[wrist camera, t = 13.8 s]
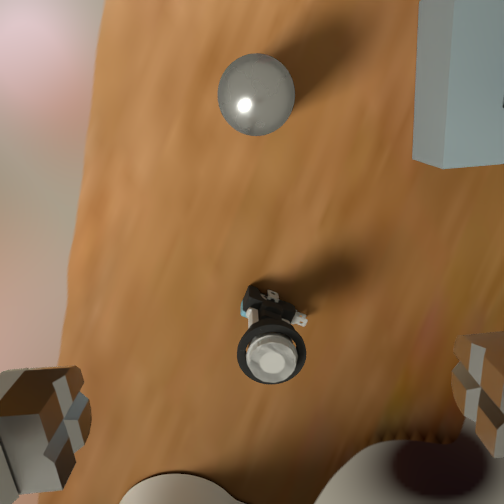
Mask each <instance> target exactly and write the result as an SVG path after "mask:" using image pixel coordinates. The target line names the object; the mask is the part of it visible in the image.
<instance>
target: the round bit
mask: <svg viewBox="0 0 504 504" xmlns="http://www.w3.org/2000/svg"><path fill="white" fill-rule="evenodd" d="M294 101H295V89H294V84H293V80H292V78H291V75H290V74H289V72H288V70H287V69H286V68H285V66H284V65H283V64H282V63H281V62H279V61H278V60H277V59H275V58H273V57H271V56H268V55H265V54H258V53H256V54H248V55H245V56H242V57H240V58H238V59H236V60H235V61H234V62H232V63H231V64H230V65H229V66H228V67H227V69H226V70H225V72H224V73H223V75H222V77H221V79H220V83H219V87H218V103H219V107H220V110H221V113H222V115H223V117H224V118H225V120H226V121H227V122H228V123H229V124H230V125H231V126H232V127H233V128H234V129H236V130H237V131H239V132H241V133H243V134H246V135H251V136H261V135H266V134H269V133H271V132H274V131H275V130H277V129H278V128H280V127H281V126H282V125H283V124H284V123H285V122H286V120H287V119H288V117H289V116H290V114H291V112H292V109H293V106H294Z"/></svg>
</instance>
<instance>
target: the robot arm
mask: <svg viewBox="0 0 504 504" xmlns="http://www.w3.org/2000/svg"><path fill="white" fill-rule="evenodd" d="M454 354H455V356H456V357H457V358H458V359H459V361H460V362H459V363H458V364H457V366H456V367H455V368H454V369H453V370H452V381H451V385H452V390H453V395H454V399H455V401H456V403H457V406H458V408H459V409H460V411H461V412H462V414H463V415H464V416H465V417H467V418H469V419H470V420H472V421H474V422H476V430H475V432H476V434H477V435H478V437H479V438H480V440H481V441H482V442H483V444H484V445H485V447H486V448H487V449H488V451H489V452H490V454H491V455H492V456H493V458H504V331H500V332H490V333H481V334H471V335H461V336H457V338H456V341H455V344H454ZM83 384H84V380H83V376H82V373H81V370H80V369H79V368H78V367H77V366H58V367H42V368H30V369H29V368H24V369H13V370H7V371H3V372H1V373H0V504H12V503H13V502H14V501H15V500H16V499H17V498H19V495H20V494H30V493H39V492H49V491H58V490H63V488H64V486H65V484H66V482H67V480H68V478H69V476H70V474H71V472H72V470H73V468H74V466H75V464H76V460H75V456H74V453H75V452H76V451H77V450H79V449H80V448H81V447H82V446H84V445H85V442H86V440H87V438H88V436H89V433H90V427H91V421H92V416H91V407H90V403H89V399H88V398H87V397H85V396H84V395H83V394H82V393H81V392H80V389H81V387H82V386H83ZM120 504H245V503H243V502H240V501H237V500H236V499H234V498H233V497H232V496H231V495H229V494H228V493H227V492H226V491H225V490H224V489H223V488H221V487H220V486H218V485H217V484H215V483H213V482H211V481H209V480H206V479H204V478H201V477H197V476H193V475H187V474H165V475H159V476H155V477H152V478H149V479H146V480H144V481H142V482H140V483H138V484H137V485H135V486H134V487H132V488H131V489H130V490H129V491H128V492H127V493H126V494H125V496H124V497H123V499H122V500H121V502H120Z"/></svg>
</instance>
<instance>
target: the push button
mask: <svg viewBox="0 0 504 504" xmlns="http://www.w3.org/2000/svg"><path fill="white" fill-rule="evenodd" d="M267 292H268V295H266V294H263V293H260V292H259V290H258V288H256V287H254V286H251V285H249V286H248V289H247V291H246V293H245V296H244V298H243V300H242V303H241V315H242V316H243V317H246V318H248V330H247V331H246V333H245V334H244V335H243V337H242V338H241V340H240V342H239V345H238V349H237V359H238V363H239V366H240V368H241V370H242V371H243V372H244V373H245V374H246V375H247V376H248V377H249V378H251V379H252V380H254V381H256V382H259V383H263V384H279V383H283V382H286V381H288V380H290V379H291V378H293V377H294V376H296V375H297V374H298V373H299V372H300V370H301V369H302V367H303V365H304V363H305V360H306V348H305V344H304V341H303V339H302V337H301V336H300V335H299V333H298V332H297V331H295V329H294V327H293V326H292V325H290V324H294V323H295V324H298V325H301V326H305V325H306V323H307V321H308V320H307V319H305V318H306V315H305V314H302V313H299V312H297V310H295V306H294V305H292V304H290V303H288V302H285V301H282V300H280V299H279V296H278V293H277V292H274V291H271V290H267ZM271 293H274V294H275V295H273V294H271ZM299 315H302V317H299ZM299 321H302V322H303V323H300V322H299ZM292 340H293V341H294V342H295V343H296V348H295V346H294V345H293V342H292ZM247 345H249V349H248V351H247V353H246V347H247Z"/></svg>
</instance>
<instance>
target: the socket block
mask: <svg viewBox="0 0 504 504" xmlns="http://www.w3.org/2000/svg"><path fill="white" fill-rule="evenodd" d="M503 99H504V0H421V1H419V15H418V38H417V62H416V85H415V108H414V131H413V154H412V159H414V160H417V161H420V162H423V163H426V164H429V165H432V166H435V167H438V168H441V169H449V168H461V167H473V166H484V165H496V164H504V100H503Z"/></svg>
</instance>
